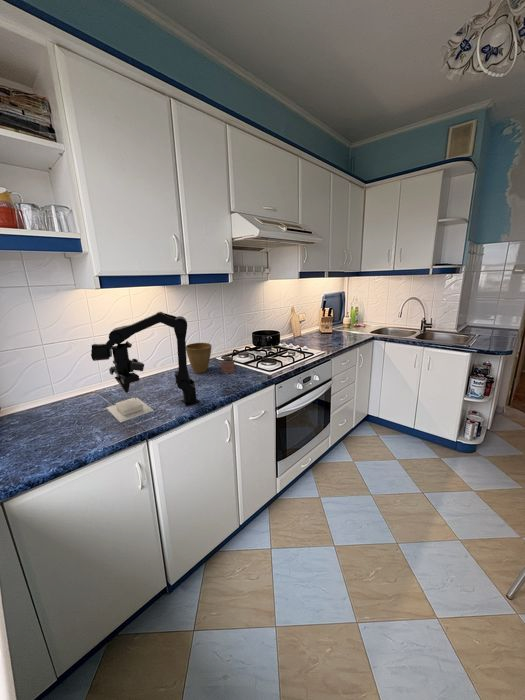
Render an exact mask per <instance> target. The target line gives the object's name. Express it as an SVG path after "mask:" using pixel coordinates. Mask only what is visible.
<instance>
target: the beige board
mask: <svg viewBox="0 0 525 700" xmlns="http://www.w3.org/2000/svg"><path fill="white" fill-rule="evenodd" d="M134 398H135V397H134ZM135 399H136V400H137V401H139V402H140V403H141V404H142V405H143V410H140V411H137V412H134V413H132V414H129V415H126V416H124V415H123V414H122V413H121V412H120V411H119V410H118V409H117V408H116V404H113V405H111V406H107V407H106V409H107V411H109V413H110V414H111V415H112V416H113V417H115V419H116V420H117V421H118V422H119V423H123V422H126V421H128V420H131V419H134V418H136V417H139V416H143V415H146V414H149V413H151V412H154V409H153V408H151V407H150V406H149V405H148V404H147V403H145V402H143V401H142V400H141V399H140V398H138V397H136V398H135Z"/></svg>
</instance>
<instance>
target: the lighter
mask: <svg viewBox="0 0 525 700" xmlns="http://www.w3.org/2000/svg"><path fill="white" fill-rule="evenodd" d="M220 365H221V367H220V369H221V374H228V375H229V373H234V374H235V373H236V370H235V360H234V359H233V356H229V355H228V356H221V360H220Z"/></svg>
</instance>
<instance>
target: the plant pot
mask: <svg viewBox="0 0 525 700" xmlns="http://www.w3.org/2000/svg"><path fill="white" fill-rule="evenodd" d="M211 352H212V344H211V343H208V342H195V343H194V342H193V343H188V344H187V345H186V356H187V358H188V361H189V364H190V366H191V368H192V371H193V372H194V373H195V374H204V373H206V372H207V370H208V367H209V363H210V359H211V355H212V354H211Z"/></svg>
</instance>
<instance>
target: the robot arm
mask: <svg viewBox="0 0 525 700" xmlns="http://www.w3.org/2000/svg"><path fill="white" fill-rule="evenodd" d="M160 323H161V324H163V325H165V326H168V327H170V328H173V330H174V334H175V337H176V344H177V347H176V348H177V361H178V362H177V364H178V370H175V371H174V377H175V379H174V380H175V383H174V384H175V385H177V388H178V389H179V390H181V391H182V397H183V399H181V400H180V402H181V403H183V404H185V406H186V407H189V406H191V405H195V404H197V403H200V400H199V399H198V398H197V391H196V384H195V382H196V381H195V380H193V379H192V378H190V377H191V376H190V373H189V369H188V361H187V351H186V343H187V342H186V339H187V338H186V337H187V331H188V321H187V319H186V318H185V317H183V316H182V315H181V316H180V315H179V316H176V315H173V314H169V313H165V312H163V311H157V312H156V313H154V314H152V315H150V316H148V317H145V318H144V319H141V320H139V321H136V322H134V323H132V324H128V325H122V326H118V327H114V328H113V329H112V330H111V331H110V332H109V334H108V340H107V342H106V343H93V344H91V350H90V351H91V353H90V357H91V360H92V361H94V362H96V361H106V360H107V361H108V360H110V358H113V360H112V364H114V365H113V366H111V367H109V369H108V370H109V374H110V375H114V373H115V375H116V376H115V377H114V379H115V380H116V382H117V383H118V384H119V385H120V388H121V389H122V390H123V392H124V393H125V394H127V393H129V391H130V387H131V385H130V384H132V383H135V382H139V381H140V380H141V379H140V375H138V374H137V373H136V372H135V371H140V372H144V368H145V363H143V362H141V361H139V360H138V359H137V358H132V359H130V357H129V350H128V349H130V348H132V347H133V344H132V343H130V341H128V339H129V338H131V337H132V336H134V334H137V333H139V332H142V331H144V330H147V329H148V328H150V327H153V326H156V325H157V324H160ZM126 340H127V341H126ZM125 341H126V342H125ZM123 342H124V343H123Z"/></svg>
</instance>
